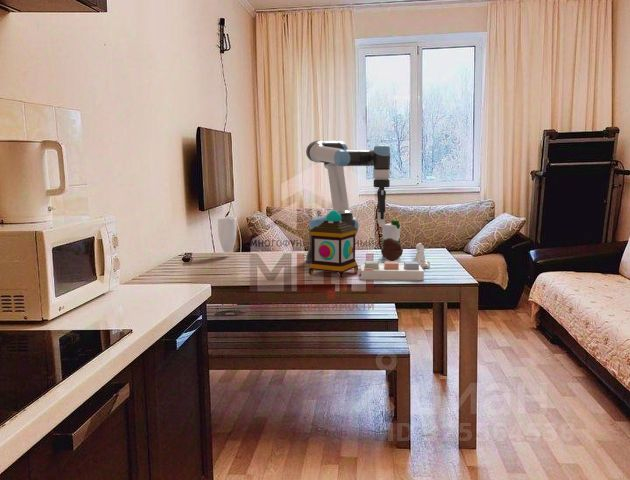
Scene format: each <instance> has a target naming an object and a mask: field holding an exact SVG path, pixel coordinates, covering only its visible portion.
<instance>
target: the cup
mask: <svg viewBox="0 0 630 480" xmlns="http://www.w3.org/2000/svg"><path fill="white" fill-rule="evenodd" d="M217 228H218V229H217V233H218V239H219V243H220V246H221V248H222V250H223V252H224V253H231V252H233V250H234V247H235V244H236V238H237V217H233V216H221V217H218V219H217Z"/></svg>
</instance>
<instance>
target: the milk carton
mask: <svg viewBox="0 0 630 480" xmlns="http://www.w3.org/2000/svg"><path fill="white" fill-rule="evenodd" d="M399 222H400V221H399V220H391V223H385V226H381V227H382V249H383V248H384V241H385V240H386V239H387V238H391V239H393V240H394V241H396V242H398V243H399V244H400V245H401V228H402V223H399ZM381 255H382V254H381ZM382 258H385V257H384V256H383V255H382Z"/></svg>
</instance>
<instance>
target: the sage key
mask: <svg viewBox="0 0 630 480" xmlns="http://www.w3.org/2000/svg"><path fill="white" fill-rule="evenodd" d="M364 265H365V268H373V269H379V265H380V264H379V261H378V260H373V261H372V260H366V261H364Z"/></svg>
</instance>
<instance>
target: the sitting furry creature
mask: <svg viewBox="0 0 630 480" xmlns="http://www.w3.org/2000/svg"><path fill="white" fill-rule="evenodd" d="M415 250H416V251H417V252H415V253H416V254H415V257H414V258H413V260H412V261H414V262H418V263H419V265H420V266H421V267H422V269H430V266H431V262H430V261H429V260H426V256H425V251H426V249H425V246H424V245H423V243H422V242H418V243H417V244H416V245H415Z"/></svg>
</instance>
